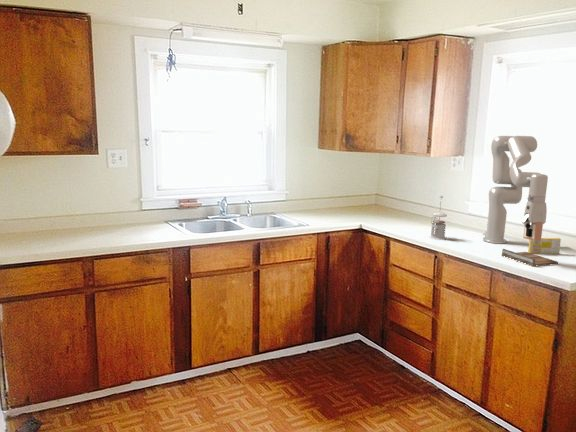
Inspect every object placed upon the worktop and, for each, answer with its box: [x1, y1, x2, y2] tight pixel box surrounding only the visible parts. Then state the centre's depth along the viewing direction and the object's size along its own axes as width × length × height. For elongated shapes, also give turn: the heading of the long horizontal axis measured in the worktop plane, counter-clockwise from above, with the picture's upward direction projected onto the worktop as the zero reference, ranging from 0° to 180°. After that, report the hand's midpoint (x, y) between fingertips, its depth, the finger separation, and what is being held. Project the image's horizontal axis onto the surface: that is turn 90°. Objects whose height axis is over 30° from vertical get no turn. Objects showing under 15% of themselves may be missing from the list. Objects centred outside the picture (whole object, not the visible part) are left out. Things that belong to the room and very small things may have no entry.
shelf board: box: [501, 251, 559, 267], centre depth 250 cm, size 20×16×1 cm
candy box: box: [527, 237, 562, 255], centre depth 265 cm, size 16×2×8 cm, turn 93°
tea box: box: [523, 222, 544, 241], centre depth 247 cm, size 4×7×9 cm, turn 20°
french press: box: [428, 195, 448, 241], centre depth 293 cm, size 10×12×25 cm
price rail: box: [501, 248, 535, 264], centre depth 247 cm, size 20×1×2 cm, turn 20°
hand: (532, 235), depth 248 cm, fingers closed on tea box, 4 cm apart
